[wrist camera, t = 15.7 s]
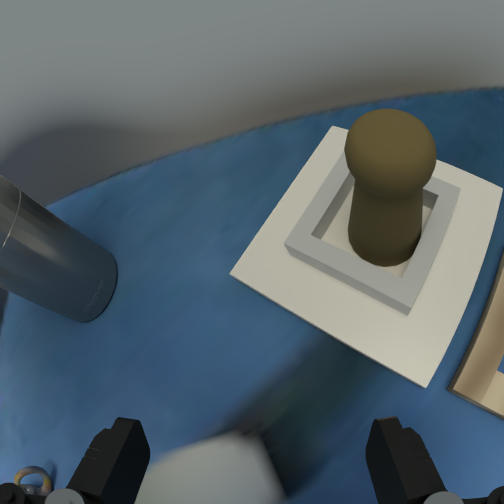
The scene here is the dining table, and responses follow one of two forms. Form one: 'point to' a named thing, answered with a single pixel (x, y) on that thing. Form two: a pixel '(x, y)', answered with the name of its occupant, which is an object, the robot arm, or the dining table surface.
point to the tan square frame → (485, 356)
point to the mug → (32, 489)
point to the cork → (388, 184)
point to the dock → (366, 274)
